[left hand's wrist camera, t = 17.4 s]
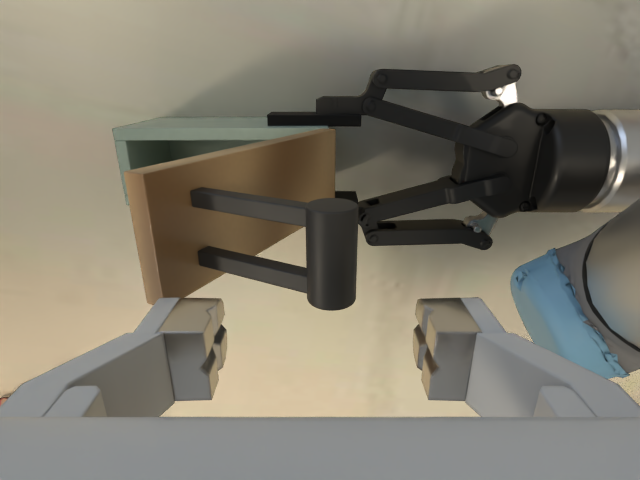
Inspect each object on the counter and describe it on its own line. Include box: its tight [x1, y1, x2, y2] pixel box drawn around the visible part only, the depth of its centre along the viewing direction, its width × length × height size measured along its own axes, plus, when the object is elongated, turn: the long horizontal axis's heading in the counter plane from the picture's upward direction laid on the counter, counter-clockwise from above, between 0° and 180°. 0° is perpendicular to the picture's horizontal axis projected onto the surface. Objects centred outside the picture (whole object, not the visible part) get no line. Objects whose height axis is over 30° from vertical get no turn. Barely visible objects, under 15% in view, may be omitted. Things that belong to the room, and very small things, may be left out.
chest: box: [112, 117, 329, 205], centre depth 33 cm, size 15×5×9 cm, turn 90°
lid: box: [124, 128, 358, 310], centre depth 20 cm, size 15×5×8 cm
